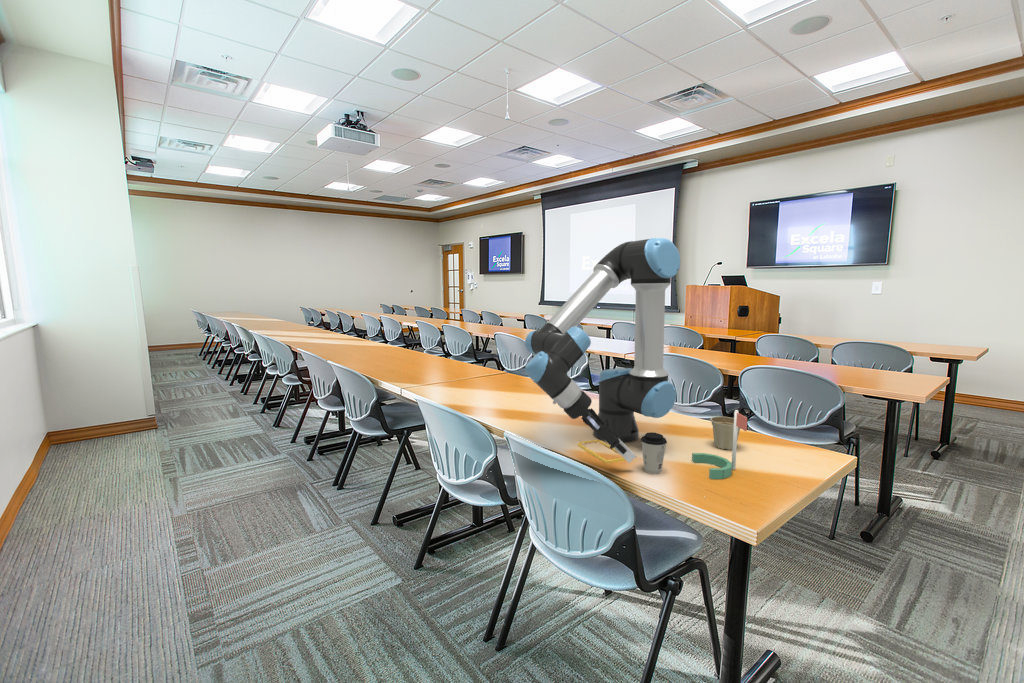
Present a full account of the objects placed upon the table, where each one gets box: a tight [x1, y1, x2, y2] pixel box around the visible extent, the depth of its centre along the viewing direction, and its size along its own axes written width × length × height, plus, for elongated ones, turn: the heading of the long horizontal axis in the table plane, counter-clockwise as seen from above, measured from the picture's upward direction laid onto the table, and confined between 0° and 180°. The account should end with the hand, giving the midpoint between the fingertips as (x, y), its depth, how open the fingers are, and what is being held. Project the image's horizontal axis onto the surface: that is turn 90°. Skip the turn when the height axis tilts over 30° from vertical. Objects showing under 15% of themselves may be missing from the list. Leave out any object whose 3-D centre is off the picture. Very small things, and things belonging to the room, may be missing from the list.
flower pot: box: [709, 416, 742, 451], centre depth 143 cm, size 9×9×9 cm
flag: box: [731, 409, 748, 471], centre depth 122 cm, size 6×1×17 cm, turn 1°
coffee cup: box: [640, 432, 668, 475], centre depth 125 cm, size 7×7×10 cm
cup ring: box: [691, 452, 733, 480], centre depth 125 cm, size 12×8×2 cm, turn 1°
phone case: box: [577, 439, 625, 464], centre depth 139 cm, size 8×17×1 cm, turn 22°
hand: (631, 458), depth 124 cm, fingers closed
